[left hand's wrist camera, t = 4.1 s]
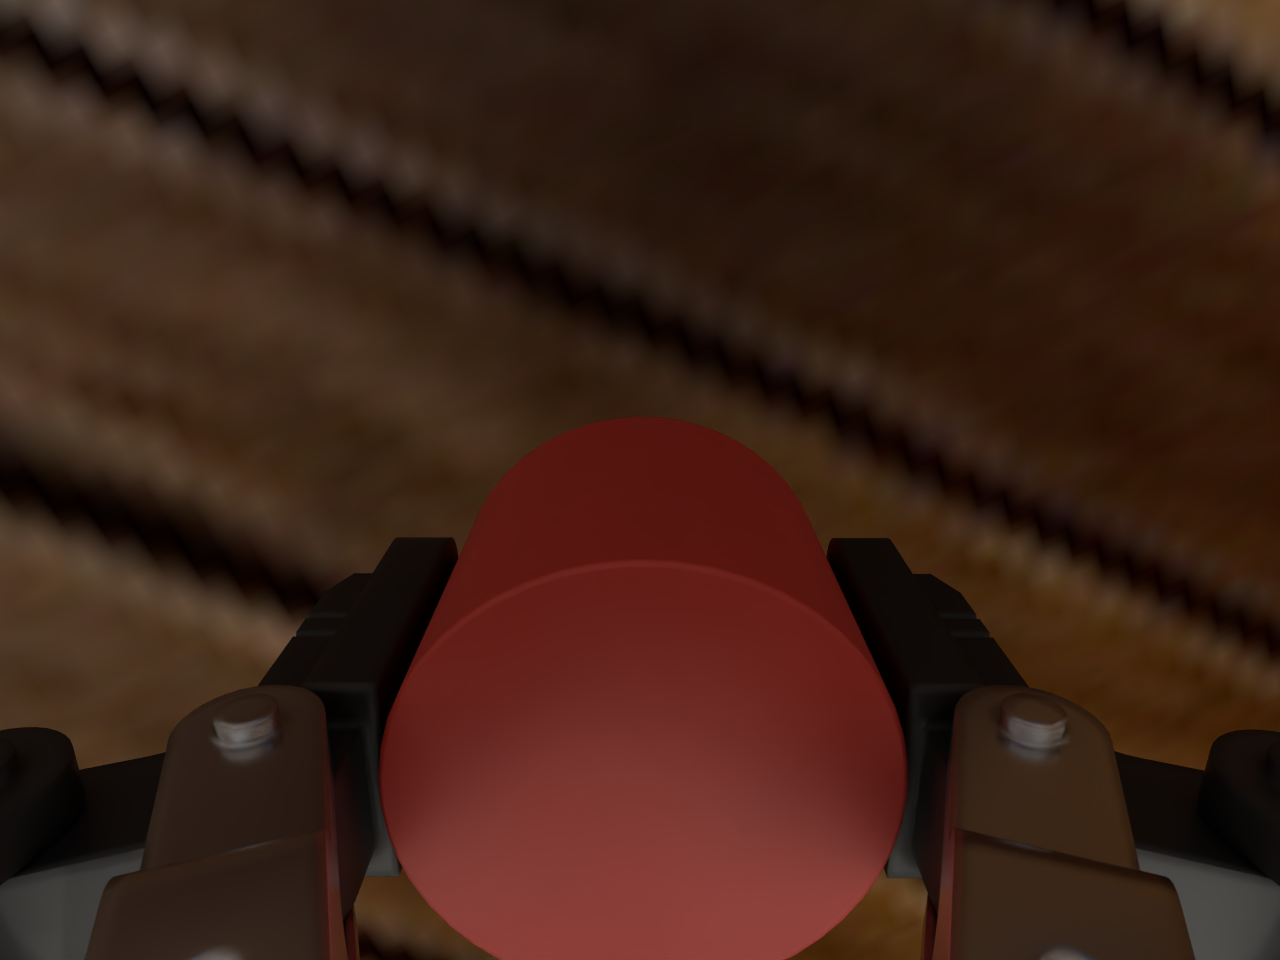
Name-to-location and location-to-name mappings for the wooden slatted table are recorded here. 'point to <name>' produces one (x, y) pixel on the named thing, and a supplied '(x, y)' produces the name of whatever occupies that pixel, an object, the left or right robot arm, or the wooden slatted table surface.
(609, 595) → the canister
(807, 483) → the wooden slatted table surface
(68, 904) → the left robot arm
